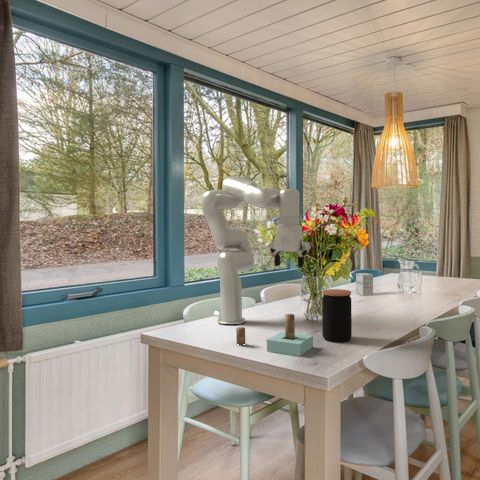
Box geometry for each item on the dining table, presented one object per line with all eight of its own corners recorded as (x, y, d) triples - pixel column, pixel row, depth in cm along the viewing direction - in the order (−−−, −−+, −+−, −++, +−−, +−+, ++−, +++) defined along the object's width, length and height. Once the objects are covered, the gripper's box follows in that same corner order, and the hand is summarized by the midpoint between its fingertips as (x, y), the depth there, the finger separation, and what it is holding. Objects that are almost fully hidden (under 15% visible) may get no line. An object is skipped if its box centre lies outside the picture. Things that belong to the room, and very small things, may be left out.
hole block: (266, 351, 149) (266, 339, 149) (281, 342, 159) (281, 331, 159) (299, 356, 143) (299, 344, 143) (313, 347, 153) (312, 335, 153)
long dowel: (284, 349, 150) (283, 315, 150) (287, 347, 153) (287, 313, 153) (292, 351, 149) (292, 316, 148) (296, 348, 151) (295, 314, 151)
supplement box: (355, 294, 263) (355, 273, 263) (366, 293, 266) (366, 272, 265) (362, 296, 256) (362, 274, 256) (373, 295, 259) (373, 274, 258)
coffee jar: (347, 335, 168) (346, 288, 168) (355, 342, 158) (355, 293, 157) (319, 335, 168) (319, 289, 167) (326, 343, 157) (325, 293, 157)
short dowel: (235, 345, 157) (234, 328, 156) (239, 342, 160) (238, 326, 159) (243, 346, 155) (242, 329, 155) (247, 343, 158) (246, 327, 158)
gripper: (264, 221, 168) (264, 265, 169) (306, 222, 158) (305, 268, 159) (273, 221, 174) (273, 264, 175) (314, 221, 165) (313, 266, 166)
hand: (288, 266), depth 167 cm, fingers open, 9 cm apart
